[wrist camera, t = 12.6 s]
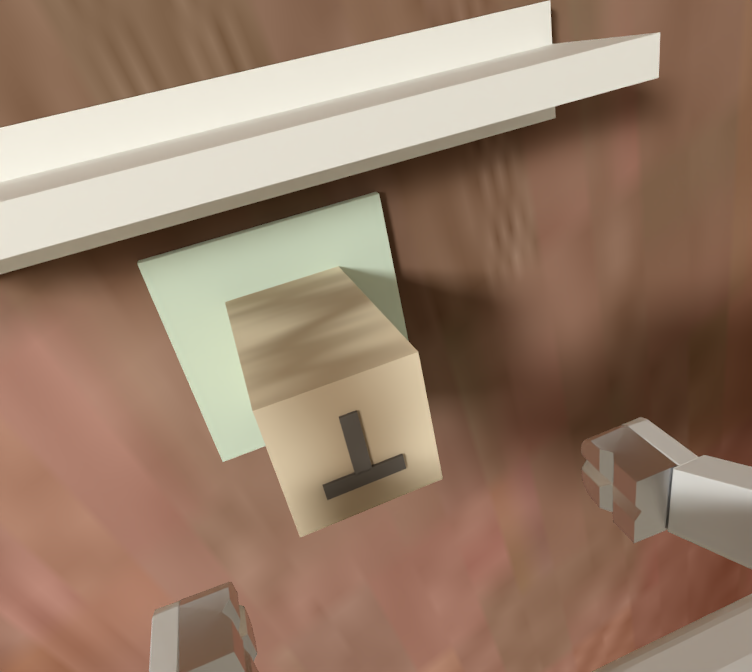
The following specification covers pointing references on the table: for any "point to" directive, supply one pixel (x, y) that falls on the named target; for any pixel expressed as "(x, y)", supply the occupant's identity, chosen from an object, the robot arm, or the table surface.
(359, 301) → the birch block
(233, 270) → the sage mat
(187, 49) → the table surface
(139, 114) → the white shelf
